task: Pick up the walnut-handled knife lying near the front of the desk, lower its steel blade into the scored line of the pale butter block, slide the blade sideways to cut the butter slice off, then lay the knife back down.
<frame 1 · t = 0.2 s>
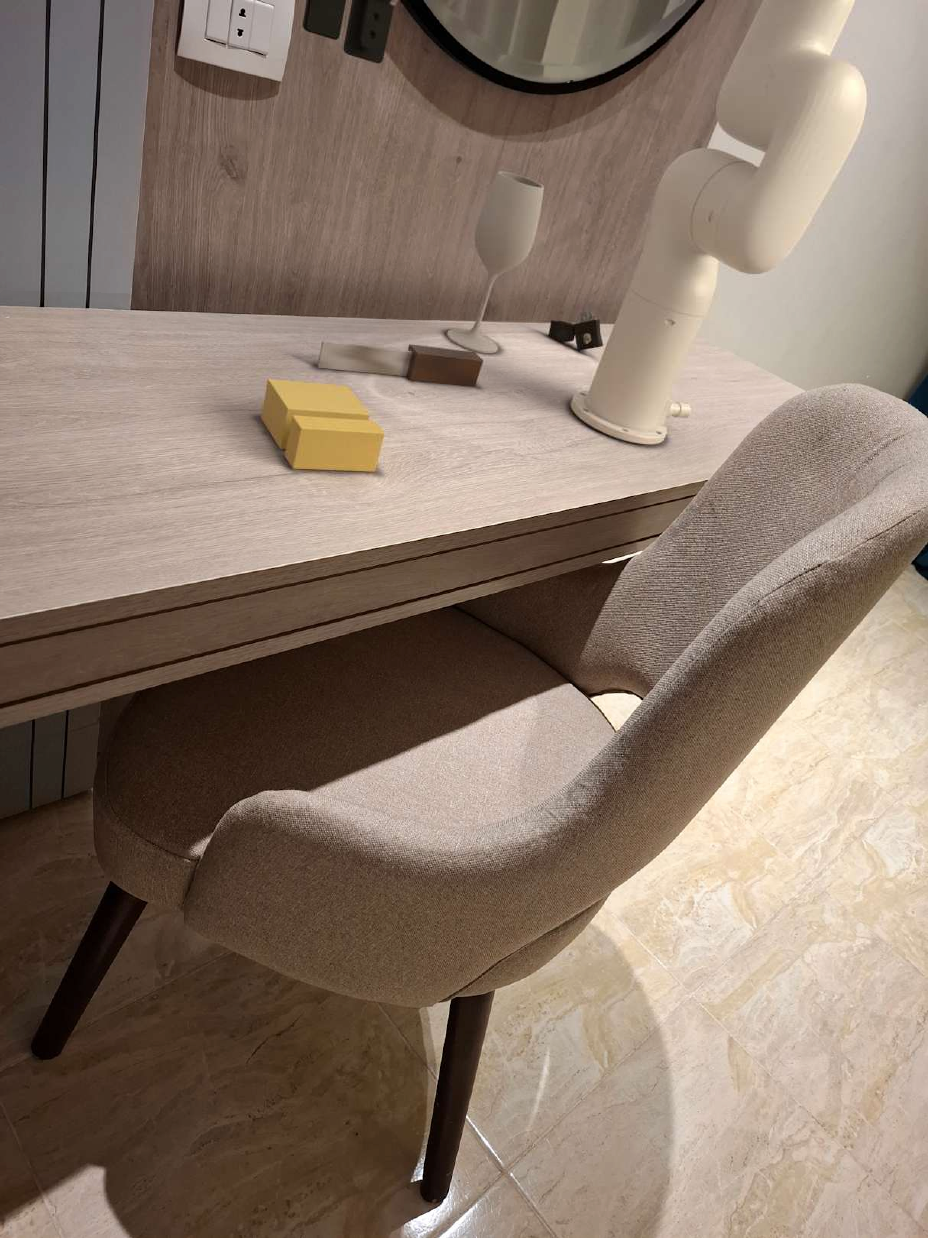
hand: (340, 45, 74), 31 cm above the table, tool pointing down, fingers open, 9 cm apart
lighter: (570, 348, 135), on the table
knife: (439, 379, 108), on the table
butter block: (310, 435, 86), on the table
butter slice: (330, 463, 82), on the table
wineglass: (471, 343, 123), on the table
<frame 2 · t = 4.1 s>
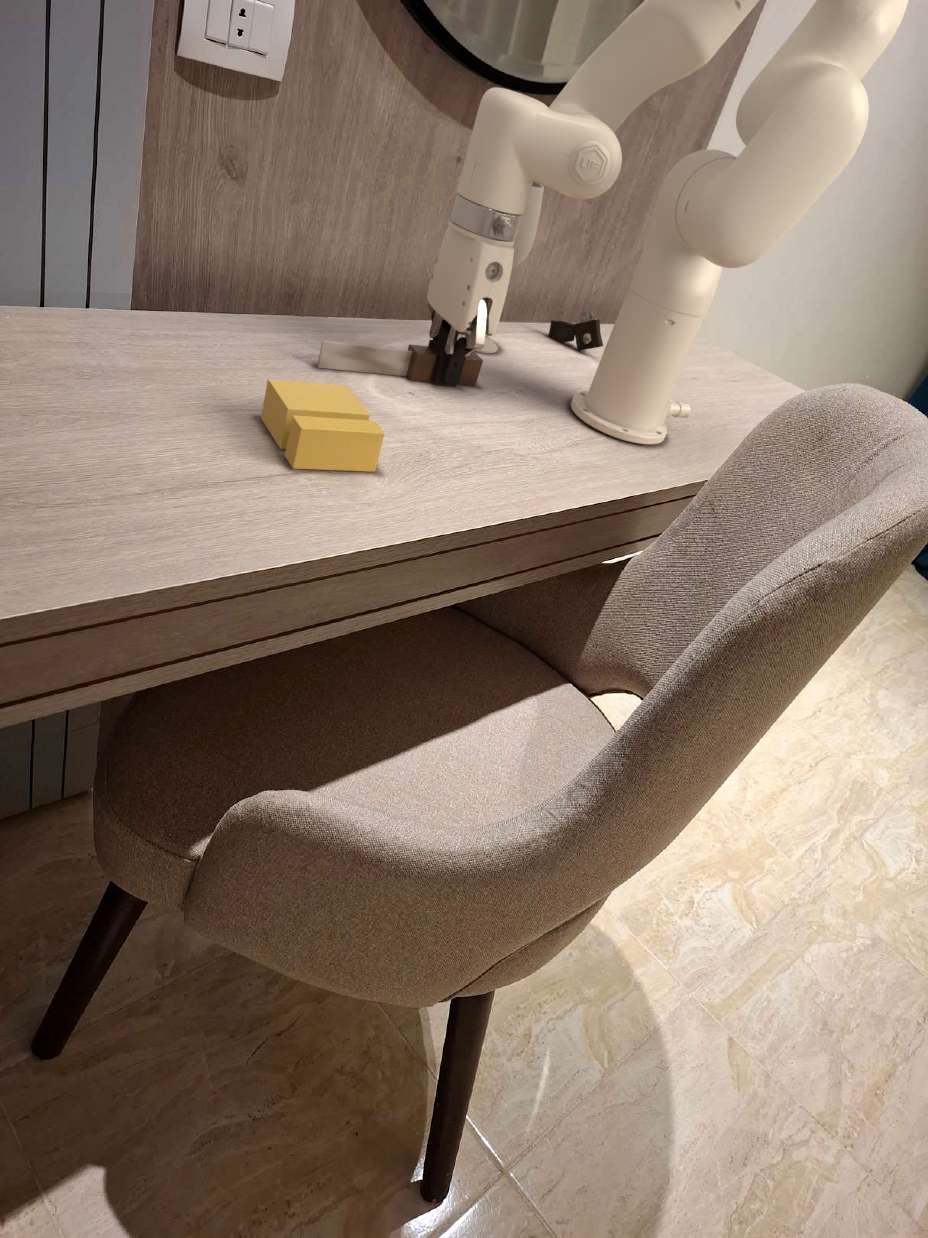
hand: (439, 377, 108), 0 cm above the table, tool pointing down, fingers closed on knife, 2 cm apart
knife: (439, 379, 108), on the table, touching gripper
everything else where it was.
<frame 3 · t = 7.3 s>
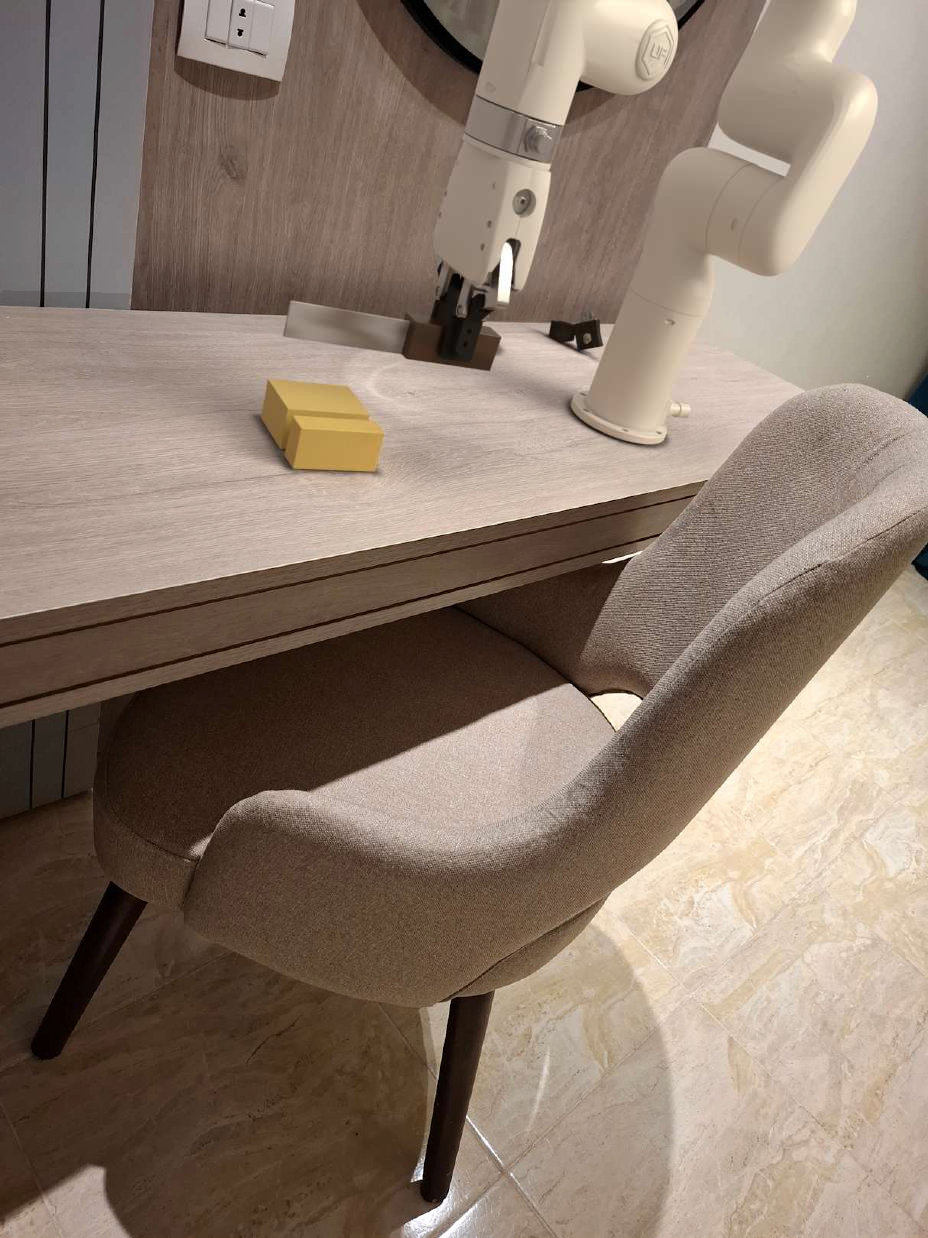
hand: (447, 350, 83), 11 cm above the table, tool pointing down, fingers closed on knife, 2 cm apart
knife: (443, 360, 83), point 10 cm above the table, touching gripper
everything else where it was.
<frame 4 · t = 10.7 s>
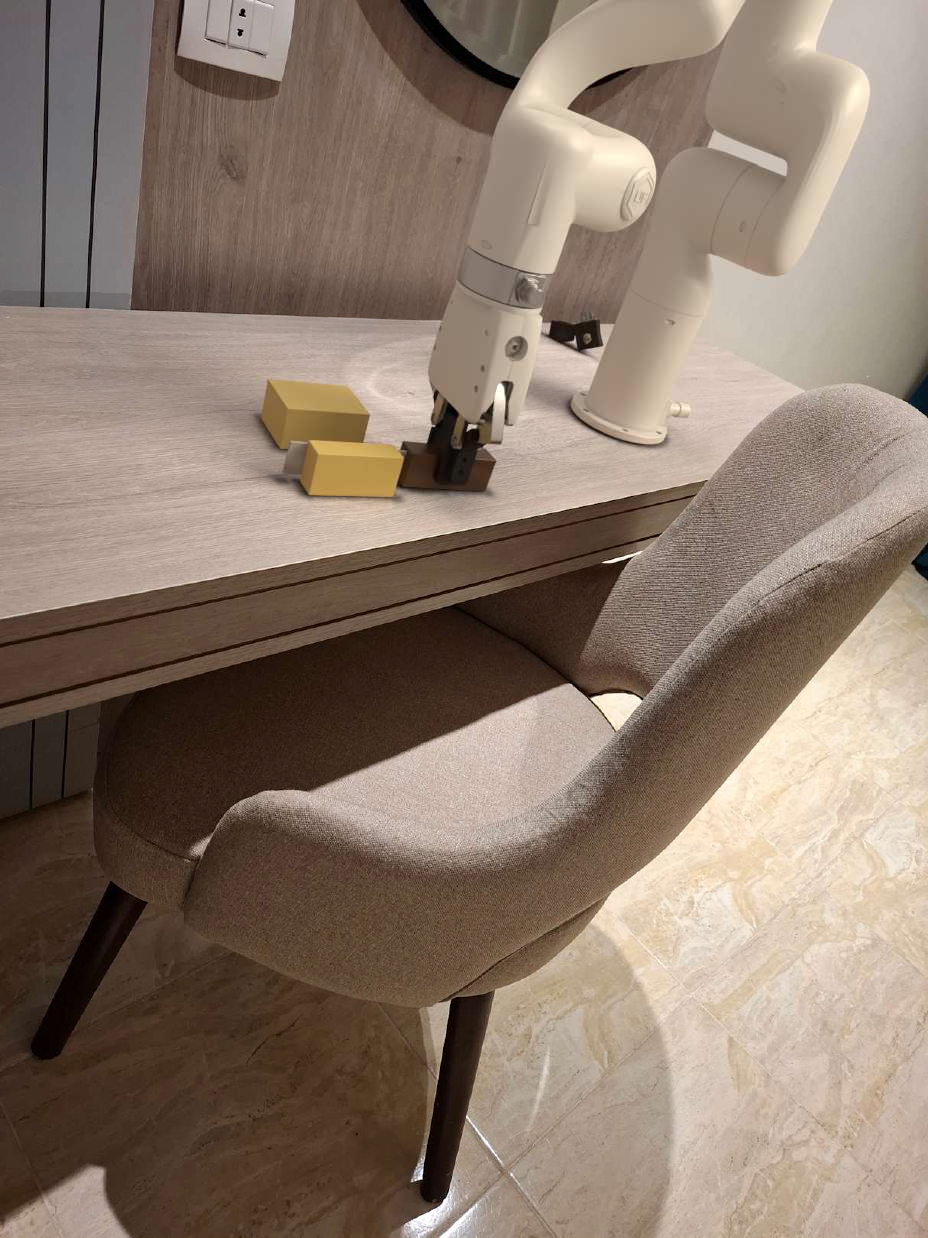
hand: (443, 473, 84), 1 cm above the table, tool pointing down, fingers closed on knife, 2 cm apart
knife: (439, 482, 85), on the table, touching butter slice, gripper
butter slice: (347, 489, 79), on the table, touching knife
everything else where it was.
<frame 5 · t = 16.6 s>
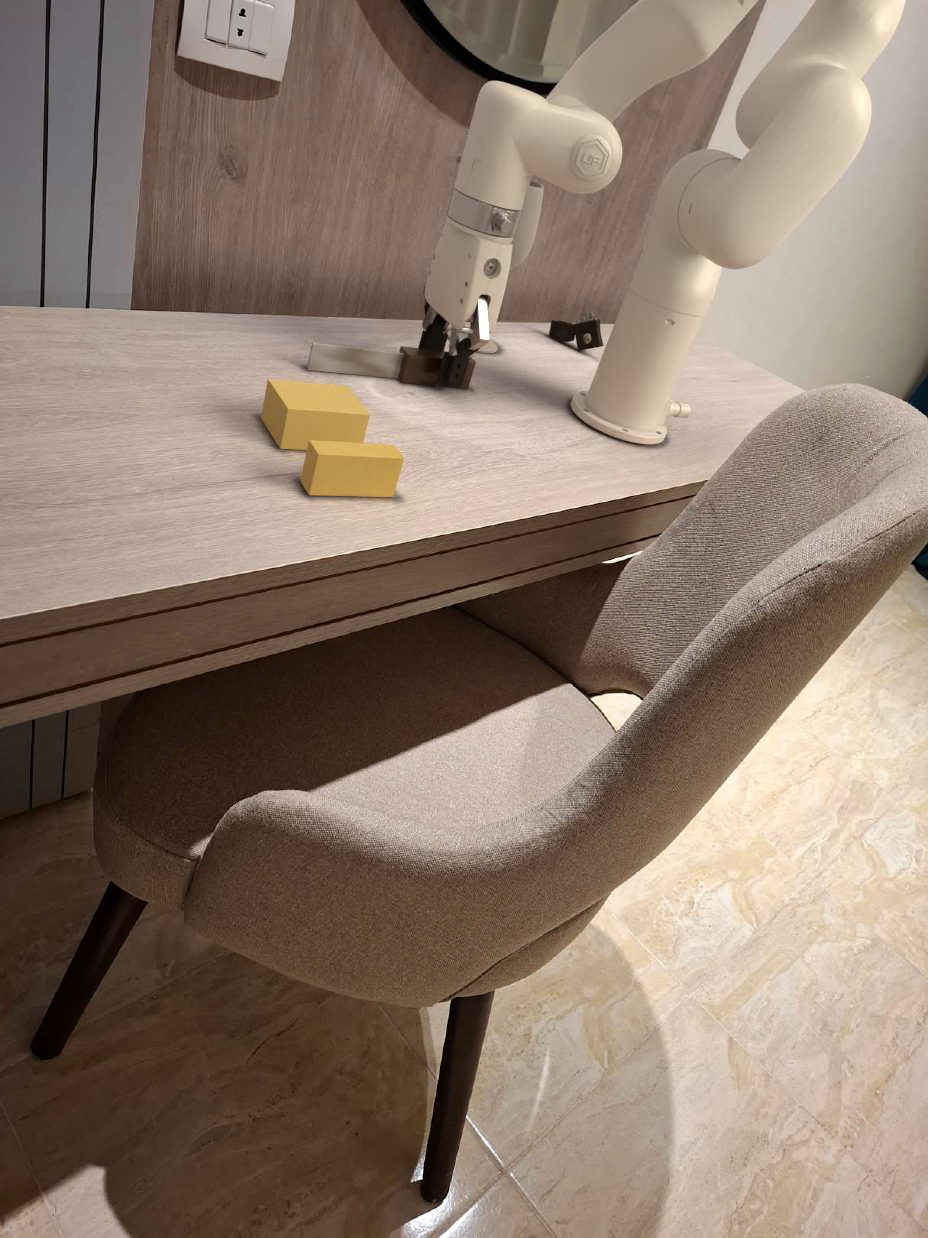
hand: (437, 373, 106), 1 cm above the table, tool pointing down, fingers open, 5 cm apart
knife: (431, 381, 106), on the table
butter slice: (347, 489, 79), on the table
everything else where it was.
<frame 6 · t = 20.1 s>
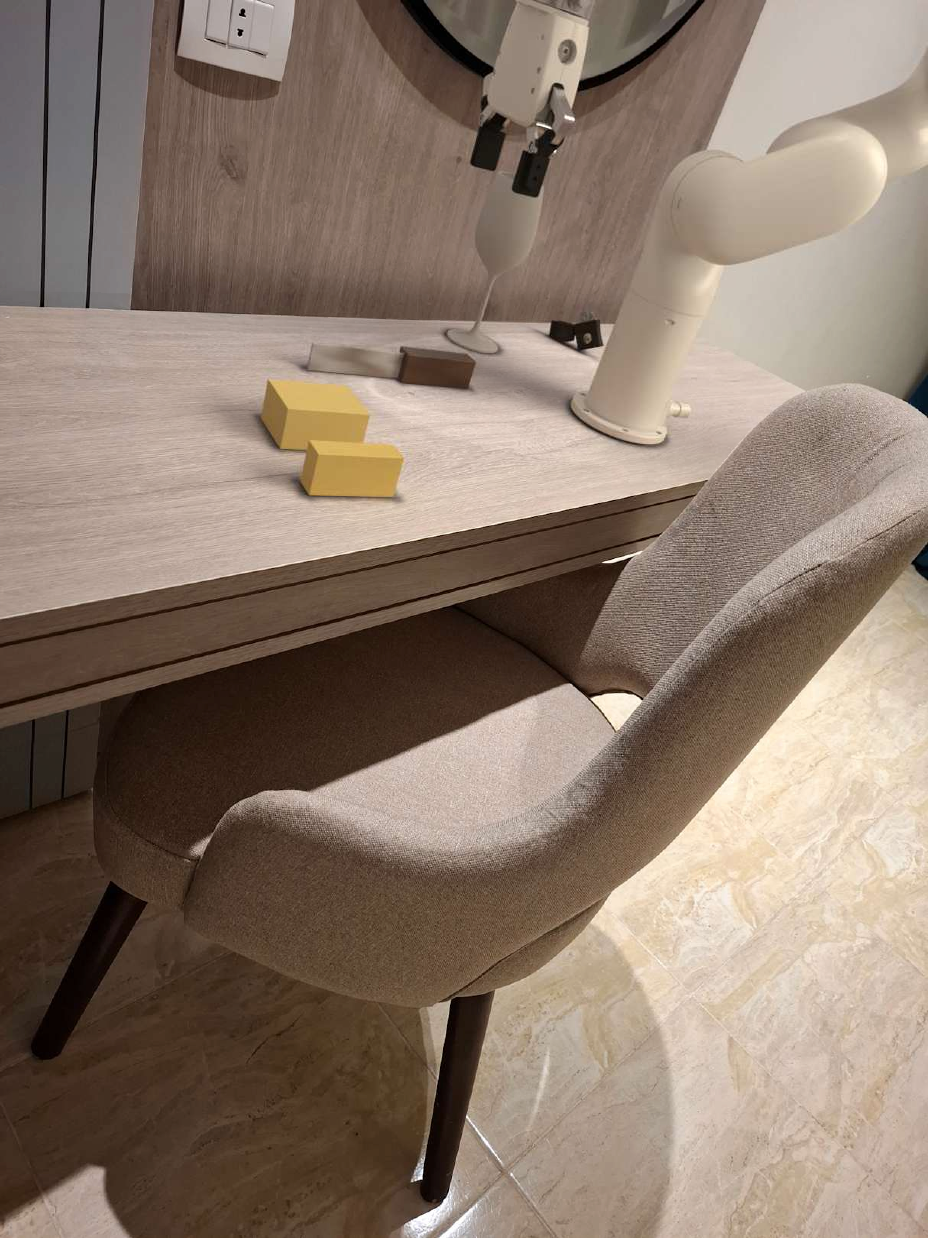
hand: (502, 180, 98), 22 cm above the table, tool pointing down, fingers open, 9 cm apart
nothing on the table moved.
at the end: butter slice moved 4.5 cm from its start; butter block moved 0.0 cm from its start; the gripper is holding nothing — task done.
